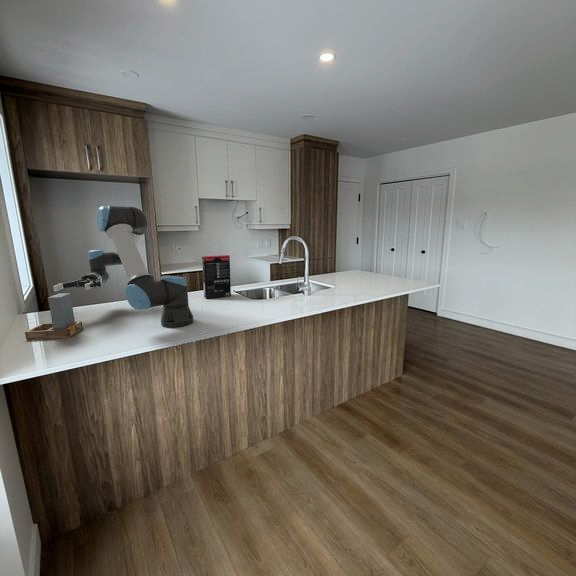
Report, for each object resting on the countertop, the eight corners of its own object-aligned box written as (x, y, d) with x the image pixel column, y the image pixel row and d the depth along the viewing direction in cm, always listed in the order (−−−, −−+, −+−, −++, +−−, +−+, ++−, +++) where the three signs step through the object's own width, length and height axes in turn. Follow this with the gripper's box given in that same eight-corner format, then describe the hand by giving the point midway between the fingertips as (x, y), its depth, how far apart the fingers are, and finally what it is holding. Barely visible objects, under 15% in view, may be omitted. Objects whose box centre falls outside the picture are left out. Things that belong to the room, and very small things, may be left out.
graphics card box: (228, 294, 216) (226, 254, 210) (232, 296, 210) (230, 255, 204) (203, 297, 208) (200, 256, 202) (206, 299, 202) (203, 257, 196)
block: (64, 329, 146) (58, 293, 143) (76, 328, 147) (70, 293, 143) (54, 335, 138) (47, 297, 135) (66, 334, 139) (60, 297, 135)
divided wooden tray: (43, 330, 147) (41, 321, 146) (84, 328, 149) (82, 319, 148) (26, 339, 135) (24, 330, 134) (70, 337, 137) (69, 327, 137)
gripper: (116, 286, 172) (99, 294, 151) (67, 288, 168) (42, 297, 148) (115, 272, 170) (97, 278, 149) (65, 274, 167) (39, 281, 146)
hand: (70, 288), depth 149 cm, fingers open, 13 cm apart
